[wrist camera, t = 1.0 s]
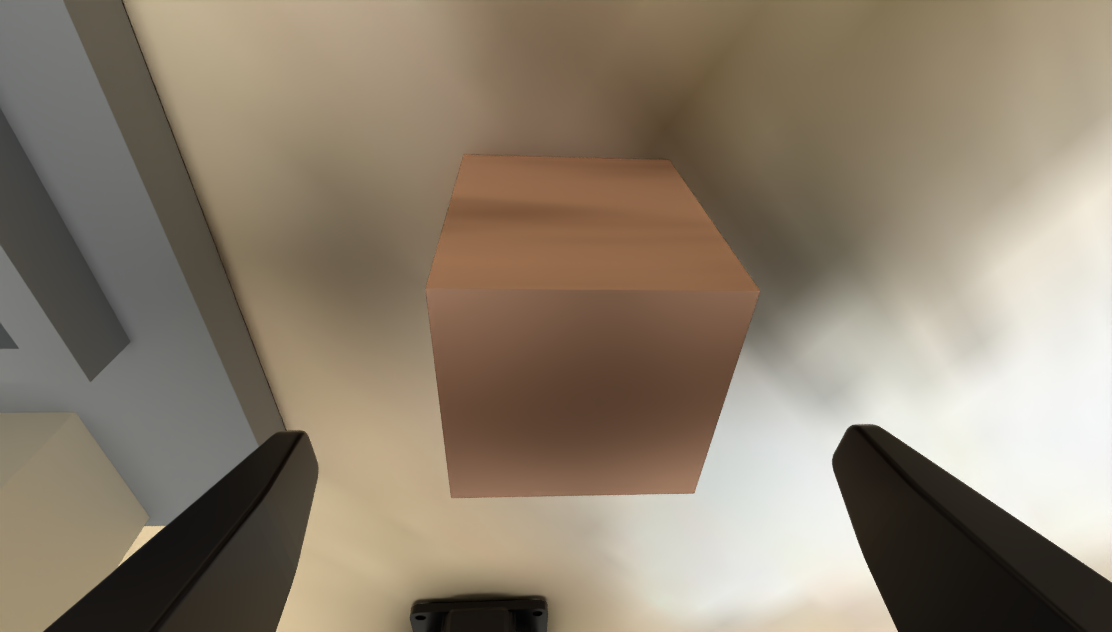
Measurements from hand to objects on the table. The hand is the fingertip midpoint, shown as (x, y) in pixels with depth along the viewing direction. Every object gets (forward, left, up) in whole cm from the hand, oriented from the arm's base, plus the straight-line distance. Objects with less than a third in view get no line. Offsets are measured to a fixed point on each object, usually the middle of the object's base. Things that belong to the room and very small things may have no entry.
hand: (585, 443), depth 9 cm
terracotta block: (0, 0, -7) cm, 7 cm away
